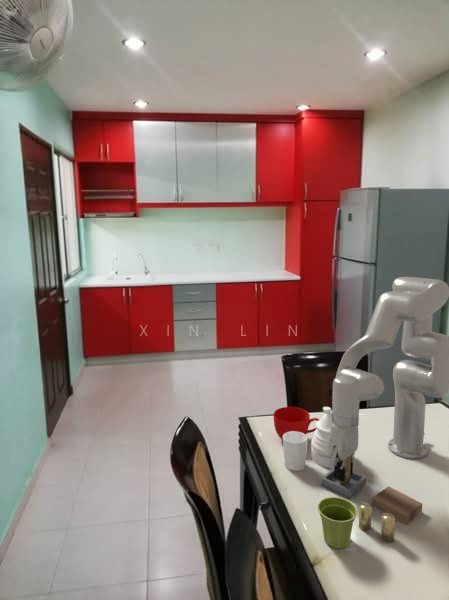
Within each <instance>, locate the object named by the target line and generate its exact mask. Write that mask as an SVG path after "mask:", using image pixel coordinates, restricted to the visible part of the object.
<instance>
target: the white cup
mask: <svg viewBox="0 0 449 600" xmlns="http://www.w3.org/2000/svg"><path fill="white" fill-rule="evenodd" d="M282 447H283V448H282V451H283V459H284V466H285V468H286V469H287V470H290V471H293V472H295V471H296V472H300V471H302V470H304V469H305V468H306V462H307V460H306V459H307V451H308V450H307V449H308V436H307V434H306V435H305V434H304V433H301V432H297V431H290V432H286V433H285V434H284V435H283V440H282Z"/></svg>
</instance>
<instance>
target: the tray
mask: <svg viewBox="0 0 449 600" xmlns="http://www.w3.org/2000/svg"><path fill="white" fill-rule="evenodd" d="M320 478H321V479H320V486H321V487H322V488H325V489H327V490H329V491H332V492H334V493H336V494H338V495H339V496H342V497H343V498H347V500H348V499H349V500H352V498H354V497H355V496H356V495H357V494H359V492H360V491H361V490H362V489H363V488H364V487H365V486H366V485H367V476H365V475H362V474H360V473H358V472H356V471H354V470H353V474H352V475H350V482H349V483H340V482H338V481H337V479H336V478H335V477H334V468H331V470H330V471H328V472H327V473H325V475H323V476H322V477H320Z"/></svg>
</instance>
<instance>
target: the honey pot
mask: <svg viewBox="0 0 449 600" xmlns="http://www.w3.org/2000/svg"><path fill="white" fill-rule="evenodd" d="M322 412H323V413H324V414H323V416H321V419H319V421H316V423H315V428H317V429H316V430H315V431H314V432H313V433H314V434H313V435H312V436H313V437H312V439H311V442H310V443H311V444H310V445H311V446H310V458H311V460H312V461H313V462H314V463H315V464H317V465H319V466H322V467H324V468H328V467H329V468H328V469H330V468H331V469H333V468H334V465H333V464H331V463H330V461H331V457H332V456H329V455H328V447H329V436H330V430H331V425H332V407H329V406H323V407H322Z"/></svg>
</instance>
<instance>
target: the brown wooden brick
mask: <svg viewBox="0 0 449 600" xmlns="http://www.w3.org/2000/svg"><path fill="white" fill-rule="evenodd" d="M371 506H372V508H375V509H377V510H379V511H380V512H382V513H383V514H384V513H390V514H392V515H394V516H395V521H398V522H400V523H401V524H403V525H405V526H407V525H408V524H409V523H411V522H412V521H413V520H414V519H416V518H417V517H418V516H419V515H420V514H422V513H423V503H422V502H420V501H418V500H416V499H415V498H412V497H411V496H408V495H406V494H405V493H402V492H400V491H399V490H397V489H395V488H393V487H391V486H389V485H388V486H387V487H385V488H383V489H382V490H381V491H380V492H378V493H377V494H375V495H373V496H372V498H371Z"/></svg>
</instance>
